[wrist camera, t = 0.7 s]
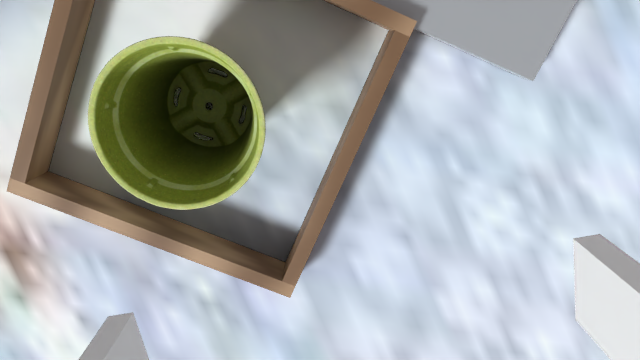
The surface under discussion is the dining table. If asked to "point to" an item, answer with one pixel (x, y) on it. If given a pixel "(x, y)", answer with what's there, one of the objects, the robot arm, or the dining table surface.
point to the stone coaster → (492, 28)
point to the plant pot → (176, 123)
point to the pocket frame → (155, 228)
